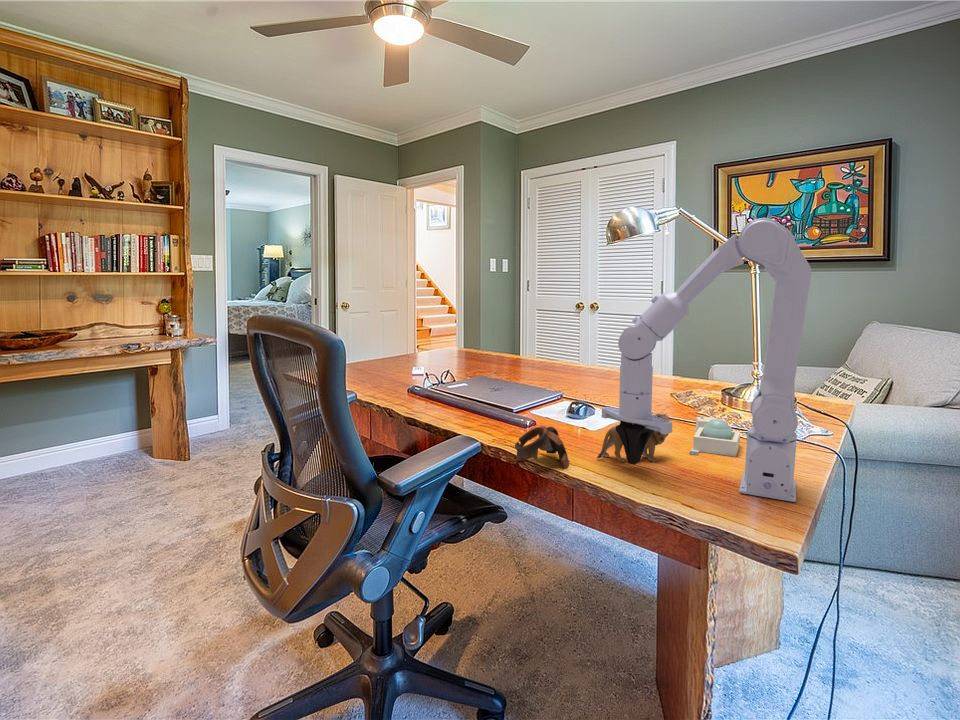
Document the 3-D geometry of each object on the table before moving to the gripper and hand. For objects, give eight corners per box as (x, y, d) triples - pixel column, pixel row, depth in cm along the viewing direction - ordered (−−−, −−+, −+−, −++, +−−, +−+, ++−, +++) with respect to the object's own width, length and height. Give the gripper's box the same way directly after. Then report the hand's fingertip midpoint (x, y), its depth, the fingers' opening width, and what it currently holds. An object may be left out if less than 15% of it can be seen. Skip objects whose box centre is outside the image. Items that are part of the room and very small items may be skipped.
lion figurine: (662, 452, 106) (663, 409, 105) (674, 461, 101) (676, 416, 100) (592, 456, 105) (593, 412, 103) (601, 465, 99) (602, 419, 98)
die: (717, 439, 114) (718, 421, 113) (697, 438, 115) (698, 420, 114) (714, 434, 118) (715, 416, 117) (695, 433, 119) (696, 415, 118)
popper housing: (736, 456, 103) (736, 442, 102) (692, 450, 107) (693, 436, 106) (739, 445, 109) (740, 431, 109) (698, 440, 114) (699, 426, 113)
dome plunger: (729, 448, 104) (730, 423, 104) (701, 444, 107) (702, 420, 106) (731, 441, 109) (733, 417, 108) (705, 437, 111) (706, 414, 111)
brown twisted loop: (568, 477, 95) (545, 441, 93) (525, 491, 100) (503, 457, 98) (579, 442, 105) (559, 409, 104) (540, 456, 110) (520, 424, 108)
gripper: (684, 394, 91) (680, 468, 93) (619, 382, 103) (617, 448, 105) (658, 400, 87) (655, 477, 89) (594, 387, 99) (593, 455, 101)
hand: (633, 462), depth 97 cm, fingers closed
